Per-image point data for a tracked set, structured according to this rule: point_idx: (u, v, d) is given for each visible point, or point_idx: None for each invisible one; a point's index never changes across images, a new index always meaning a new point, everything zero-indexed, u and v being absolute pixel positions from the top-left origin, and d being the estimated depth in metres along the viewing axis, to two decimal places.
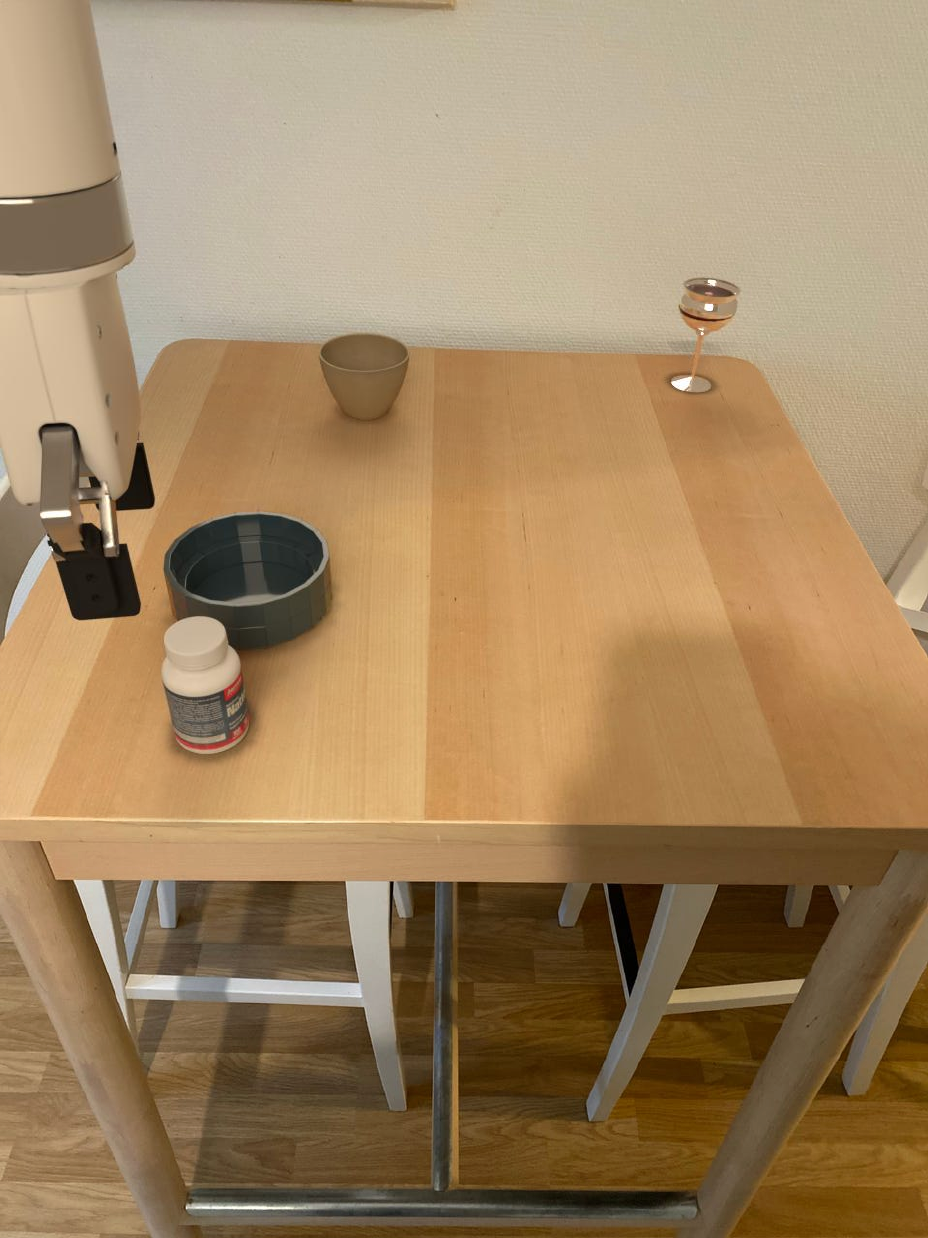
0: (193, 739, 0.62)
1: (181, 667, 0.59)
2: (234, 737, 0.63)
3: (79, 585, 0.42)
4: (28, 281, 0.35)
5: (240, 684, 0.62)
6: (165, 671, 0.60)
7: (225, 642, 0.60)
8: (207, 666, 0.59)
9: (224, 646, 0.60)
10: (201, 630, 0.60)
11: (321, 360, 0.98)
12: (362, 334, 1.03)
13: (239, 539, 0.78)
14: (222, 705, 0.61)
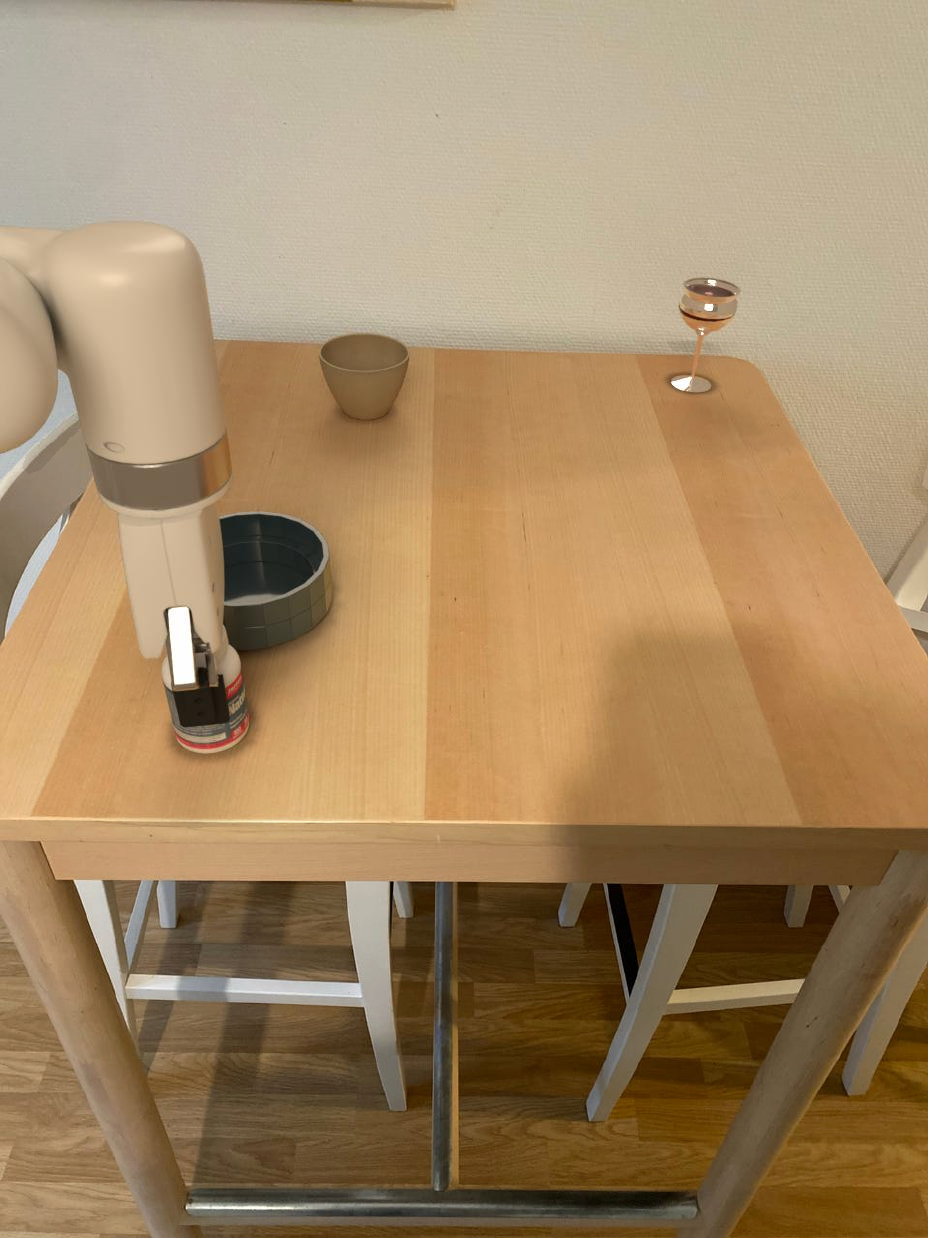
0: (194, 739, 0.62)
1: None
2: (234, 736, 0.63)
3: (189, 705, 0.58)
4: (162, 513, 0.49)
5: (240, 683, 0.62)
6: (165, 671, 0.60)
7: (225, 641, 0.60)
8: None
9: (224, 645, 0.60)
10: None
11: (321, 360, 0.98)
12: (362, 334, 1.03)
13: (239, 539, 0.78)
14: None
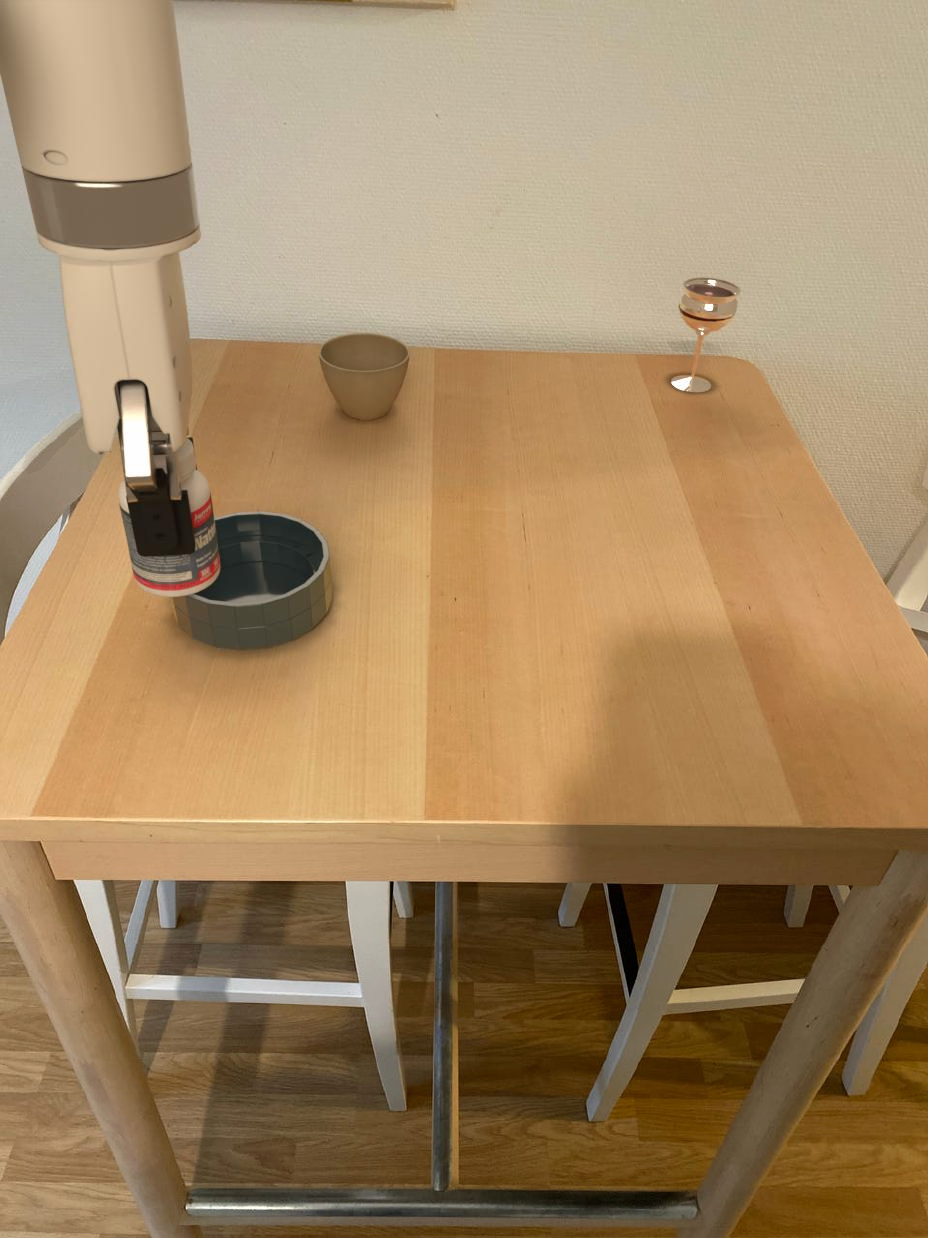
0: (154, 576, 0.54)
1: None
2: (202, 578, 0.55)
3: (146, 524, 0.50)
4: (113, 254, 0.41)
5: (209, 513, 0.54)
6: (122, 491, 0.52)
7: (192, 457, 0.52)
8: None
9: (191, 461, 0.52)
10: None
11: (321, 360, 0.98)
12: (362, 334, 1.03)
13: (239, 539, 0.78)
14: None
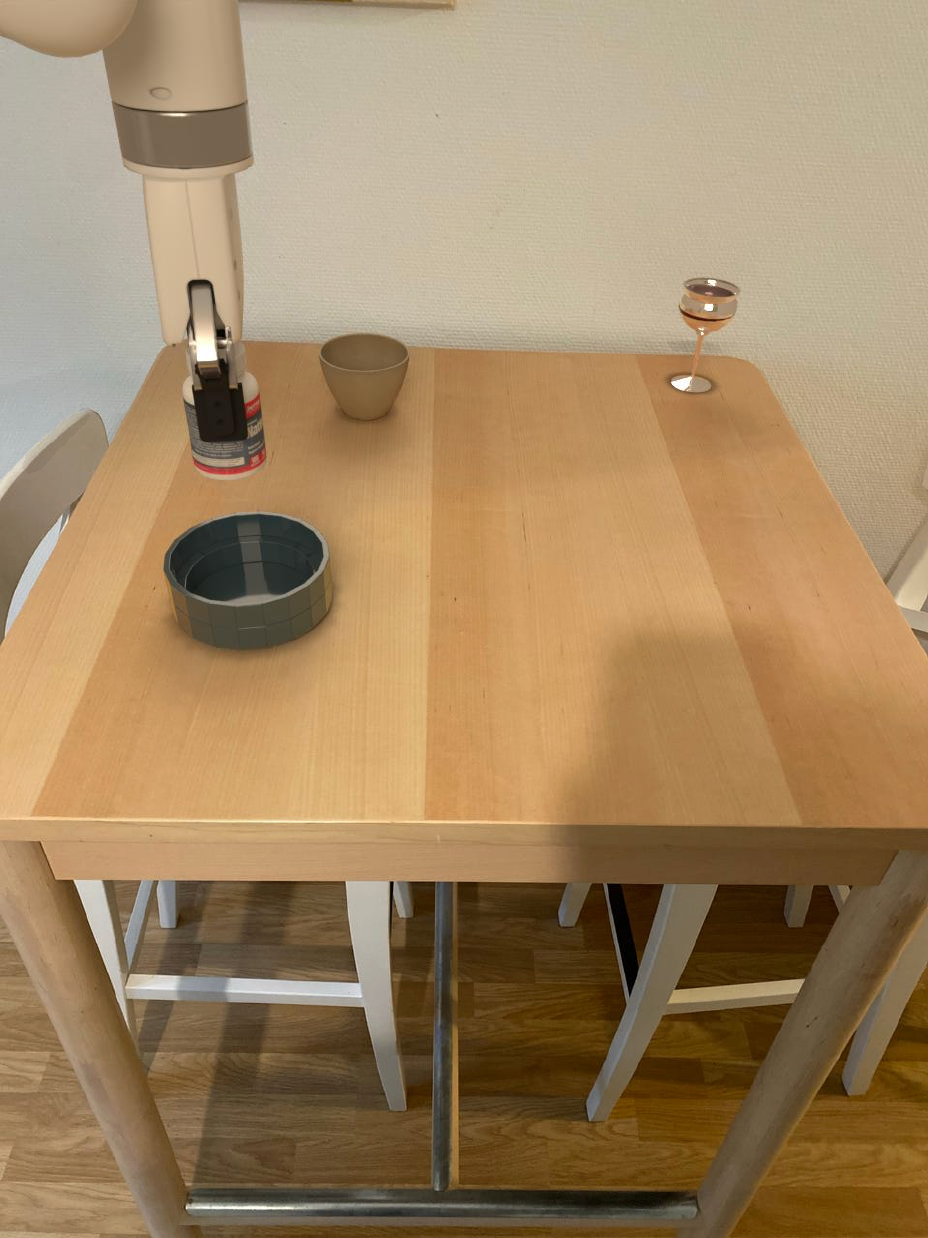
0: (213, 462, 0.64)
1: None
2: (252, 464, 0.65)
3: (209, 411, 0.59)
4: (187, 173, 0.51)
5: (258, 407, 0.63)
6: (186, 386, 0.61)
7: (244, 356, 0.61)
8: None
9: (244, 360, 0.61)
10: None
11: (321, 360, 0.98)
12: (362, 334, 1.03)
13: (239, 539, 0.78)
14: None
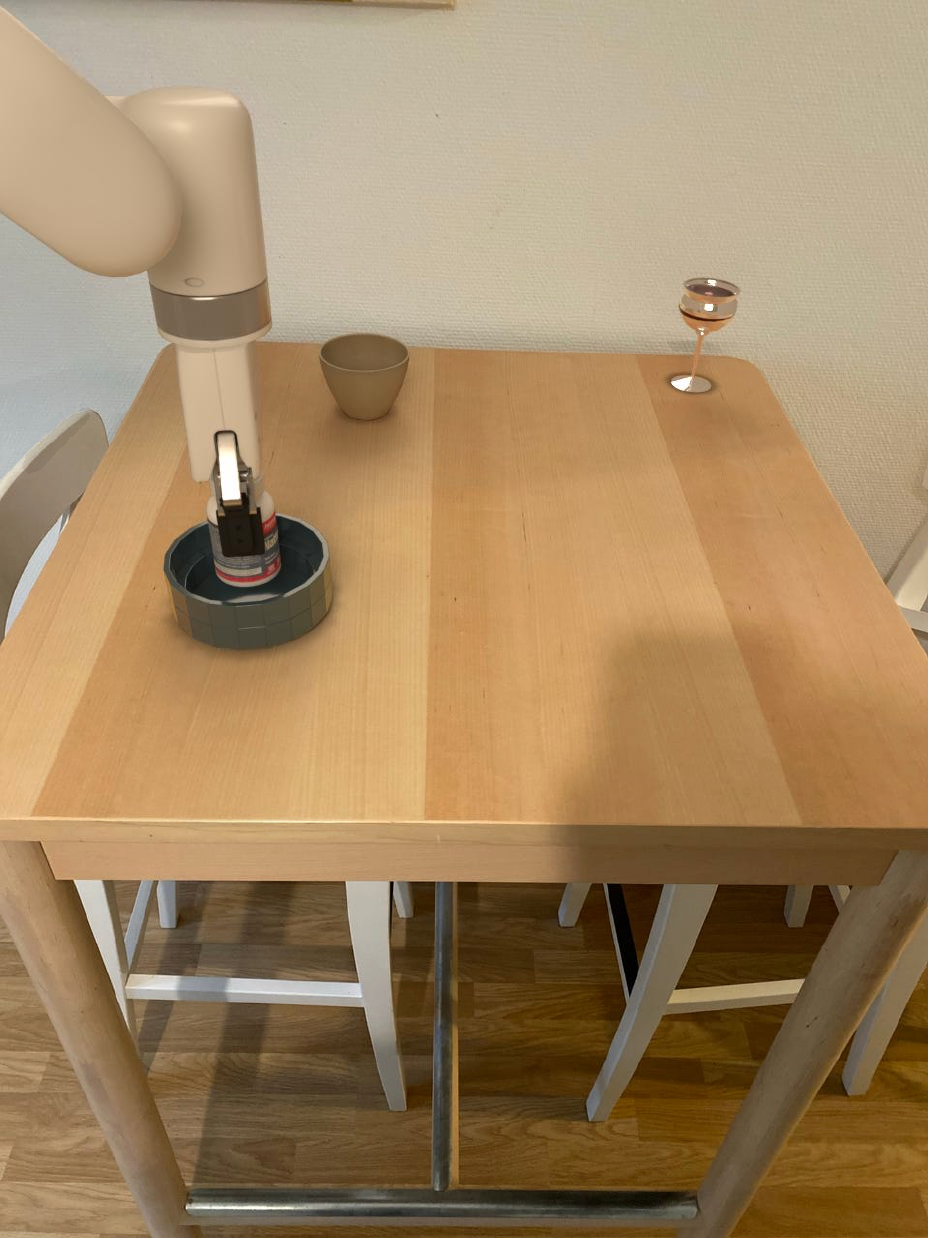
0: (233, 572, 0.71)
1: None
2: (269, 572, 0.72)
3: (231, 533, 0.67)
4: (215, 344, 0.58)
5: (274, 523, 0.71)
6: (210, 508, 0.69)
7: (262, 481, 0.68)
8: None
9: (261, 484, 0.68)
10: None
11: (321, 360, 0.98)
12: (362, 334, 1.03)
13: None
14: None
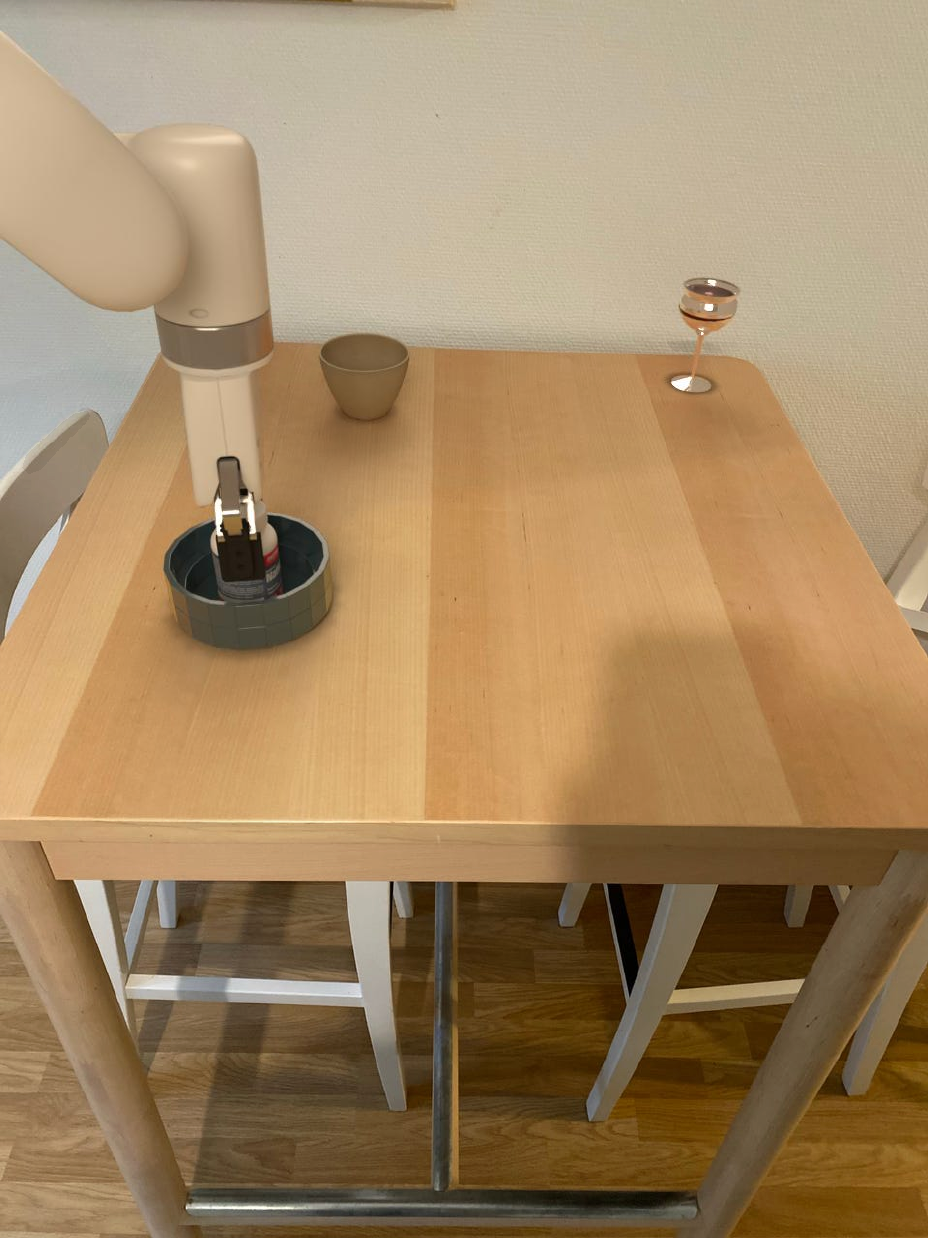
0: (237, 602, 0.73)
1: None
2: None
3: (230, 558, 0.66)
4: (219, 372, 0.59)
5: (277, 554, 0.72)
6: (214, 541, 0.71)
7: (265, 515, 0.70)
8: None
9: (264, 518, 0.70)
10: None
11: (321, 360, 0.98)
12: (362, 334, 1.03)
13: None
14: None
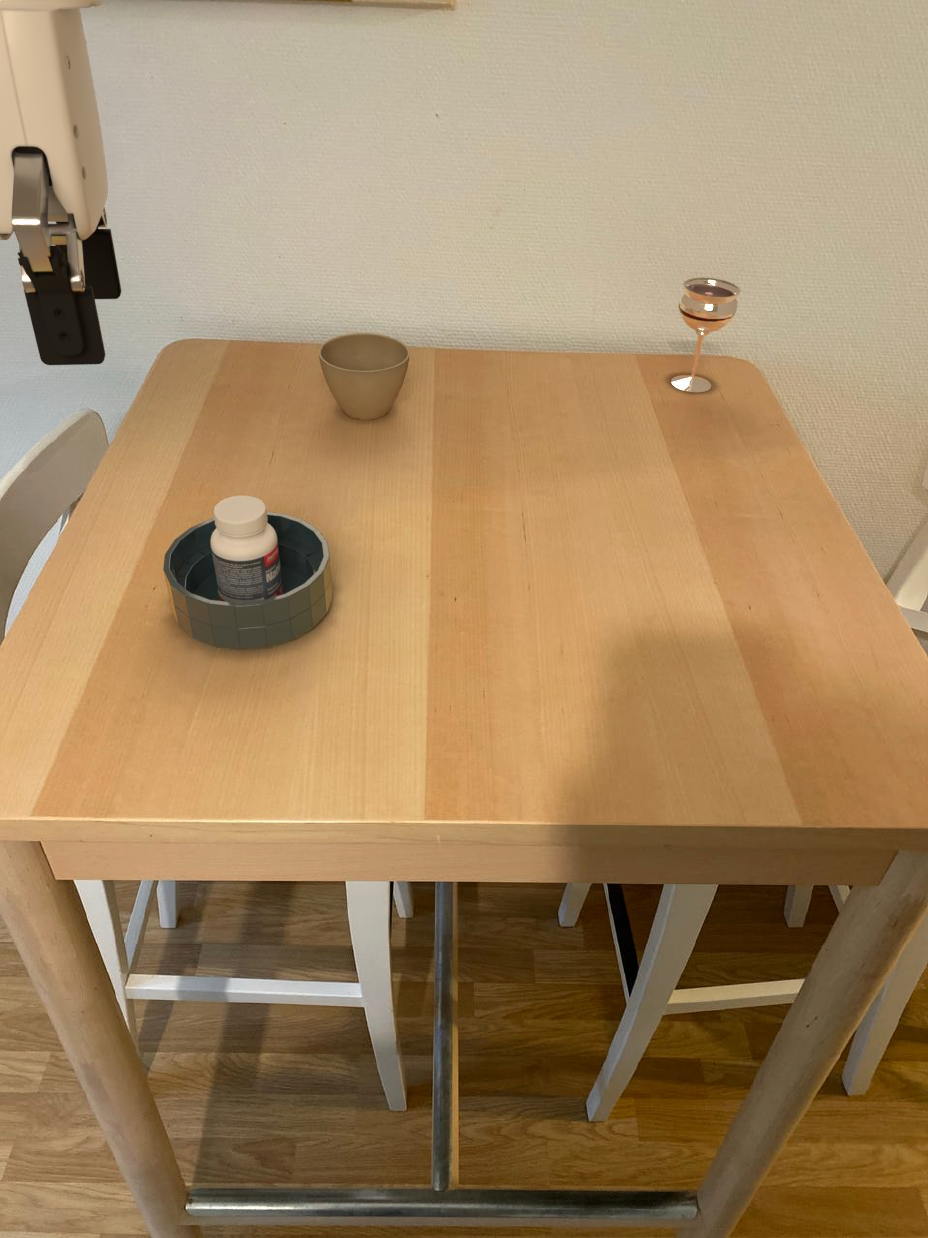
0: (237, 602, 0.73)
1: (229, 534, 0.69)
2: None
3: (47, 321, 0.46)
4: (3, 1, 0.39)
5: (277, 554, 0.72)
6: (214, 541, 0.71)
7: (265, 515, 0.70)
8: (250, 534, 0.70)
9: (264, 518, 0.70)
10: (245, 505, 0.70)
11: (321, 360, 0.98)
12: (362, 334, 1.03)
13: None
14: (262, 570, 0.71)
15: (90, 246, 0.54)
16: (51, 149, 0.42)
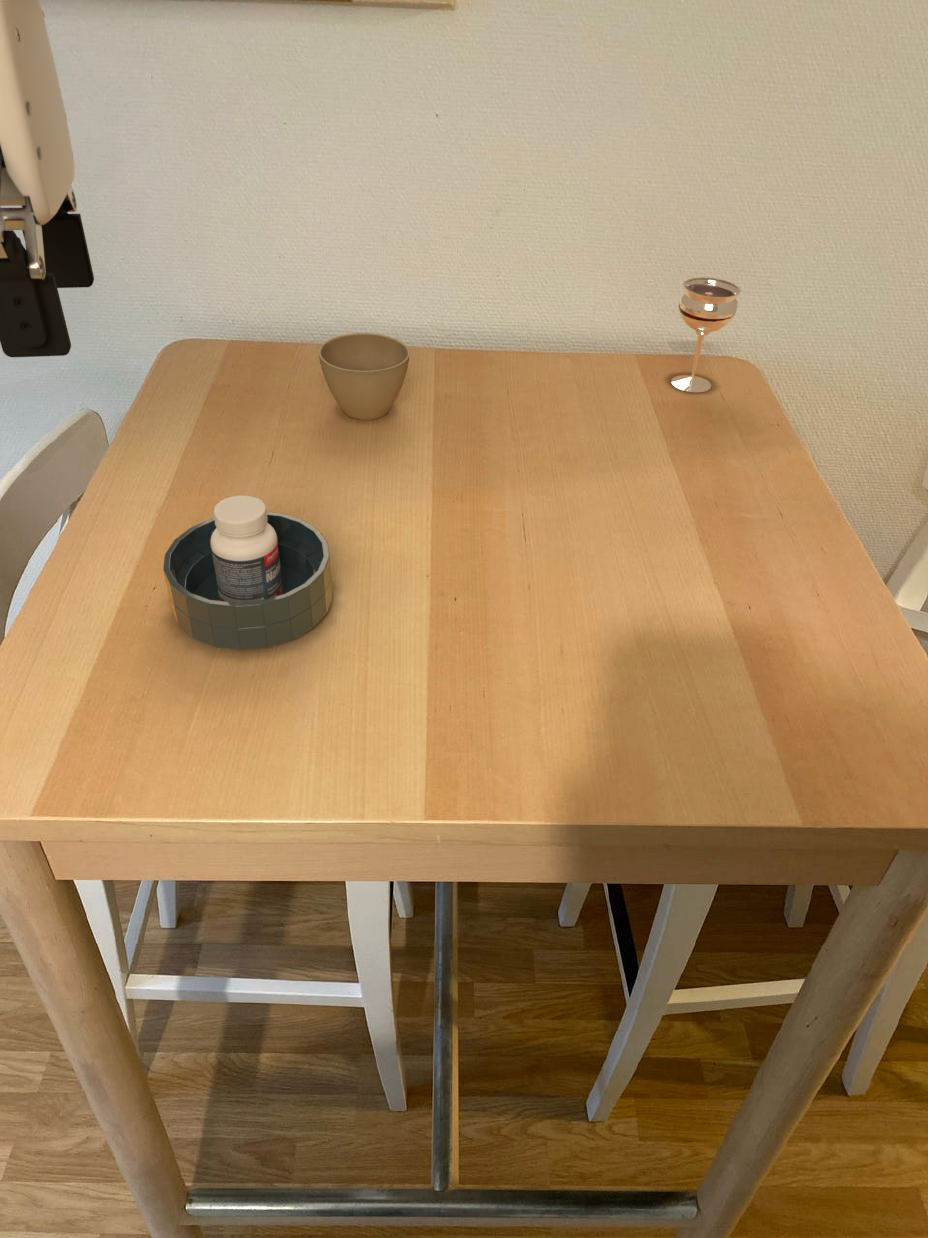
0: (237, 602, 0.73)
1: (229, 534, 0.69)
2: None
3: (7, 310, 0.44)
4: None
5: (277, 554, 0.72)
6: (214, 541, 0.71)
7: (265, 515, 0.70)
8: (250, 534, 0.70)
9: (264, 518, 0.70)
10: (245, 505, 0.70)
11: (321, 360, 0.98)
12: (362, 334, 1.03)
13: None
14: (262, 570, 0.71)
15: (59, 232, 0.51)
16: (2, 128, 0.40)
